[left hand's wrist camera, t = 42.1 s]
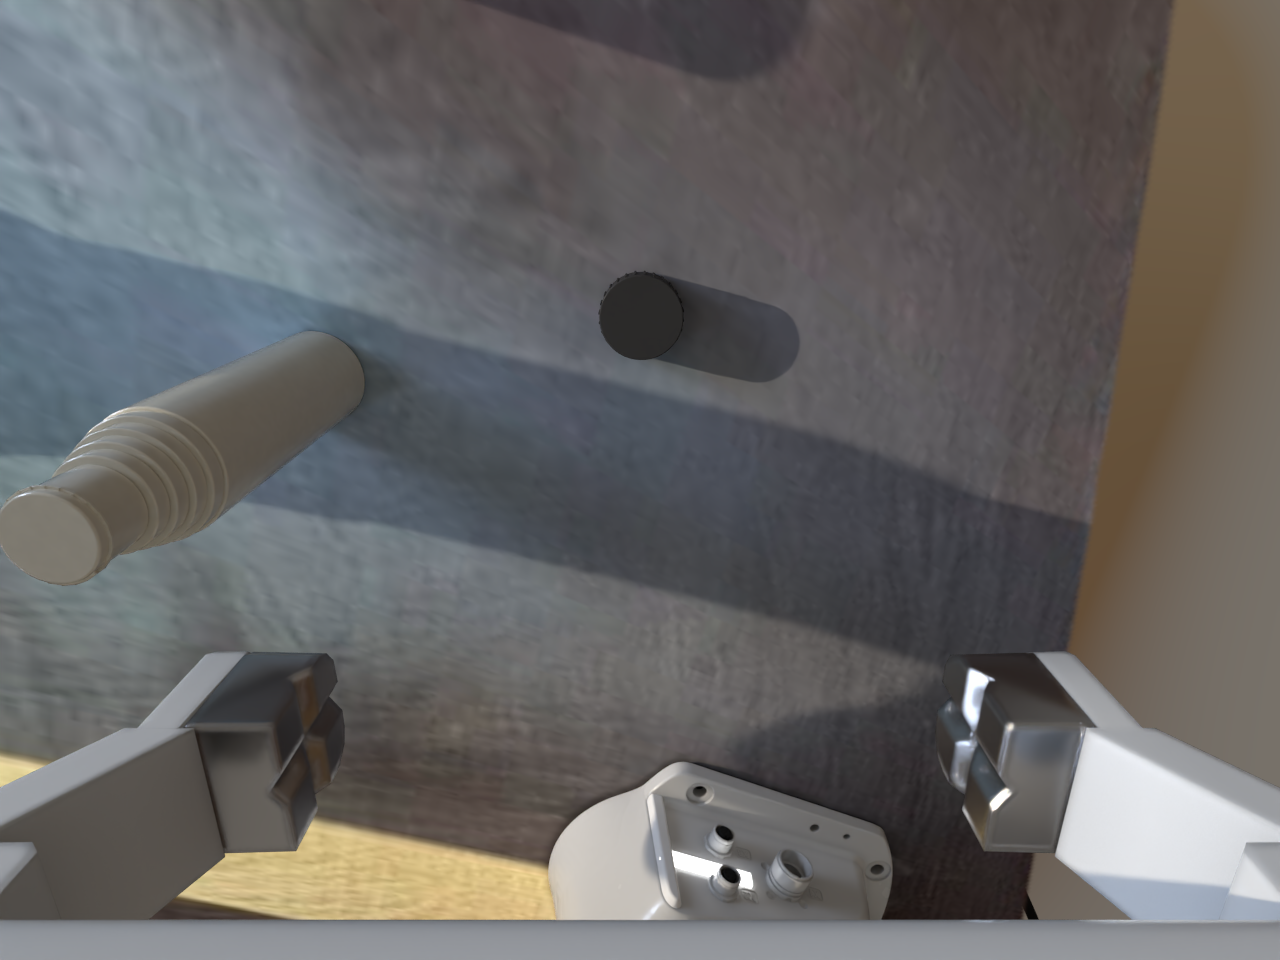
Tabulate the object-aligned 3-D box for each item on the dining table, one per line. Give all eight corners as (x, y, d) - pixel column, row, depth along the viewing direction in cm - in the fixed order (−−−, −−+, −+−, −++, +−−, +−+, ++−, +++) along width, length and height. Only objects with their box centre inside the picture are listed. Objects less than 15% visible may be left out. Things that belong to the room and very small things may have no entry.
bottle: (251, 365, 40) (-79, 519, 22) (321, 312, 39) (38, 425, 21) (315, 439, 41) (56, 642, 23) (384, 389, 41) (171, 560, 22)
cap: (661, 366, 40) (662, 374, 39) (587, 334, 40) (585, 340, 38) (696, 292, 39) (698, 296, 37) (619, 256, 38) (619, 259, 37)
